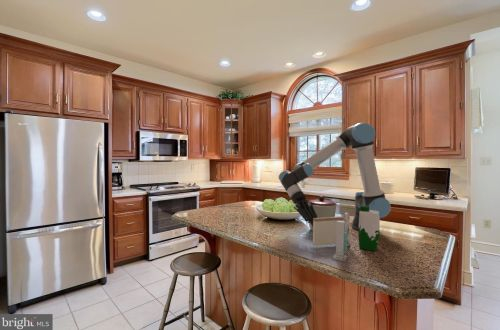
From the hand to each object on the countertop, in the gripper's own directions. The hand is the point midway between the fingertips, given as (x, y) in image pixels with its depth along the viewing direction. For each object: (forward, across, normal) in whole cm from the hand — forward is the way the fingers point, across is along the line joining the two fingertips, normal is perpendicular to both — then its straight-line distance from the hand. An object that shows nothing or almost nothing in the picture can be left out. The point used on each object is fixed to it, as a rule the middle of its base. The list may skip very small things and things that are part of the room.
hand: (319, 231), depth 127 cm
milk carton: (+17, -15, +8) cm, 24 cm away
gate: (+7, 0, 0) cm, 7 cm away
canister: (-6, -20, -15) cm, 26 cm away
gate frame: (+13, -1, +5) cm, 14 cm away
